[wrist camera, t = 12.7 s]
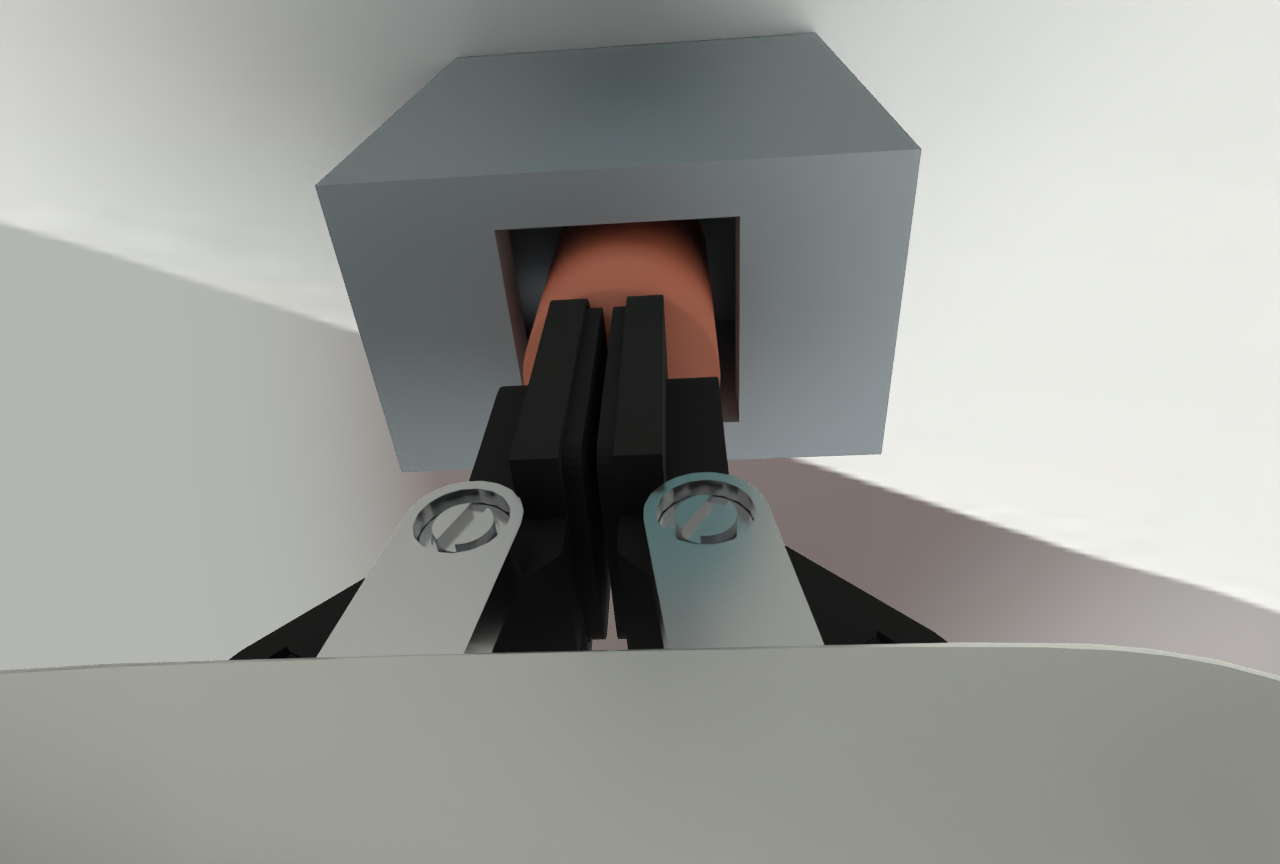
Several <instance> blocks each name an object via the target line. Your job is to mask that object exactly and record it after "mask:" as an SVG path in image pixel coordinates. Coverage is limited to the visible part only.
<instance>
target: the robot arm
mask: <svg viewBox="0 0 1280 864" xmlns="http://www.w3.org/2000/svg"><path fill="white" fill-rule="evenodd" d="M610 587H611V590H612V598H613V606H614V614H615V622H616V629H617V637H618V639H627V645H628V650H591V649H592V640H593V639H606V636H607V626H608V613H609V600H610ZM0 864H1280V676H1278V675H1274V674H1270V673H1266V672H1262V671H1259V670H1255V669H1251V668H1247V667H1243V666H1238V665H1235V664H1231V663H1227V662H1223V661H1219V660H1216V659H1211V658H1205V657H1199V656H1192V655H1186V654H1180V653H1174V652H1167V651H1161V650H1155V649H1149V648H1136V647H1124V646H1110V645H1098V644H1078V643H1070V644H1069V643H974V642H973V643H971V642H970V643H969V642H965V643H948V642H947V641H945V640H944V639H943V638H941V637H940V636H938V635H937V634H936V633H935V632H933V631H931V630H930V629H928V628H926V627H924V626H923V625H921V624H919V623H917V622H916V621H914V620H912V619H911V618H909V617H907V616H906V615H904V614H902V613H900V612H898V611H897V610H895V609H894V608H892V607H890V606H888V605H886V604H885V603H883V602H881V601H880V600H878V599H876V598H875V597H873V596H871V595H869V594H868V593H866V592H864V591H863V590H861V589H859V588H857V587H856V586H854V585H852V584H851V583H849V582H847V581H845V580H844V579H842V578H840V577H838V576H837V575H835V574H833V573H831V572H830V571H828V570H826V569H825V568H823V567H821V566H819V565H818V564H816V563H814V562H813V561H811V560H809V559H807V558H806V557H804V556H802V555H801V554H799V553H797V552H795V551H794V550H792V549H790V548H789V547H787V546H785V545H784V543H783V541H782V538H781V535H780V533H779V530H778V528H777V526H776V523H775V521H774V518H773V516H772V513H771V511H770V508H769V506H768V503H767V501H766V500H765V498H764V497H763V495H762V494H761V492H760V491H759V490H758V489H756V488H755V487H754V486H752V485H751V484H750V483H748V482H747V481H744V480H742V479H740V478H737V477H734V476H732V475H729V472H728V463H727V453H726V444H725V435H724V425H723V416H722V406H721V397H720V388H719V379H718V377H697V378H675V379H668V367H667V349H666V331H665V313H664V297H663V295H645V296H627V300H626V306H619V307H613V311H612V320H611V328H610V337H609V345H608V349H607V339H606V330H605V320H604V312H603V308H602V307H600V308H590V304H589V301H588V299H567V300H551V302H550V305H549V308H548V312H547V316H546V320H545V323H544V327H543V331H542V335H541V338H540V342H539V346H538V350H537V354H536V357H535V361H534V365H533V369H532V372H531V376H530V380H529V384H528V385H519V386H502V387H500V388H499V391H498V393H497V395H496V399H495V402H494V405H493V408H492V411H491V414H490V417H489V420H488V424H487V427H486V430H485V433H484V436H483V439H482V442H481V445H480V449H479V452H478V455H477V458H476V461H475V464H474V467H473V470H472V474H471V477H470V480H469V481H467V482H461V483H456V484H452V485H448V486H445V487H442V488H440V489H438V490H436V491H433V492H431V493H429V494H428V495H426V496H425V497H423V498H422V499H420V500H419V501H418V502H416V503H415V504H414V505H413V506H412V507H411V509H410V510H409V511H408V512H407V513H406V514H405V516H404V517H403V519H402V520H401V522H400V524H399V525H398V527H397V528H396V530H395V532H394V533H393V535H392V536H391V538H390V540H389V541H388V543H387V544H386V546H385V548H384V549H383V551H382V553H381V554H380V556H379V557H378V559H377V560H376V562H375V564H374V566H373V567H372V569H371V570H370V572H369V573H368V575H367V577H366V578H364V579H362V580H361V581H359V582H357V583H355V584H354V585H352V586H350V587H349V588H347V589H345V590H344V591H342V592H340V593H338V594H337V595H335V596H334V597H332V598H330V599H328V600H327V601H325V602H323V603H322V604H320V605H318V606H316V607H315V608H313V609H311V610H309V611H308V612H306V613H305V614H303V615H301V616H299V617H298V618H296V619H294V620H292V621H291V622H289V623H287V624H286V625H284V626H282V627H281V628H279V629H277V630H275V631H274V632H272V633H270V634H269V635H267V636H265V637H263V638H262V639H260V640H258V641H257V642H255V643H254V644H252V645H250V646H248V647H246V648H245V649H243V650H242V651H240V652H239V653H237V654H236V655H235V656H233V657H232V658H230V659H229V660H224V661H223V660H222V661H189V662H161V663H160V662H157V663H125V664H124V663H123V664H98V665H82V666H67V667H66V666H65V667H49V668H34V669H17V670H1V671H0Z"/></svg>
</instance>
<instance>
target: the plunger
mask: <svg viewBox="0 0 1280 864" xmlns="http://www.w3.org/2000/svg"><path fill="white" fill-rule="evenodd" d="M645 295H663V297H664V313H665V331H666V349H667V367H668V379H675V378H697V377H718V379H719V388H720V364H719V355H718V346H717V336H716V327H715V318H714V308H713V299H712V290H711V280H710V271H709V262H708V252H707V243H706V238H705V234H704V231H703V228H702V226H701V223H700V221H699V220H698V219H684V220H666V221H649V222H631V223H613V224H595V225H577V226H563V227H562V229H561V232H560V235H559V239H558V242H557V246H556V249H555V253H554V256H553V260H552V263H551V266H550V270H549V273H548V277H547V280H546V284H545V287H544V290H543V294H542V297H541V301H540V304H539V308H538V311H537V315H536V318H535V321H534V325H533V328H532V332H531V335H530V339H529V342H528V345H527V349H526V353H525V358H524V364H523V378H524V385H528V384H529V380H530V376H531V372H532V369H533V365H534V361H535V357H536V354H537V350H538V346H539V342H540V338H541V335H542V331H543V327H544V323H545V320H546V316H547V312H548V308H549V305H550V302H551V300H567V299H588V301H589V304H590V308H600V307H602V308H603V312H604V320H605V330H606V339H607V349H608V345H609V337H610V328H611V320H612V311H613V307H619V306H626V300H627V296H645Z"/></svg>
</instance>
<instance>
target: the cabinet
mask: <svg viewBox="0 0 1280 864" xmlns="http://www.w3.org/2000/svg"><path fill="white" fill-rule="evenodd" d="M920 155H921V148H920V147H919V146H918V145H917V144H916V143H915V142H914V140H913V139H912V138H911V137H910V136H909V135H908V134H907V133H906V132H905V131H904V129H903V128H902V127H901V126H900V125H899V124H898V123H897V122H896V121H895V120H894V118H893V117H892V116H891V115H890V114H889V113H888V112H887V111H886V110H885V109H884V107H883V106H882V105H881V104H880V103H879V102H878V101H877V100H876V99H875V98H874V96H873V95H872V94H871V93H870V92H869V91H868V90H867V89H866V88H865V87H864V85H863V84H862V83H861V82H860V81H859V80H858V79H857V78H856V77H855V75H854V74H853V73H852V72H851V71H850V70H849V69H848V68H847V67H846V66H845V64H844V63H843V62H842V61H841V60H840V59H839V58H838V57H837V56H836V55H835V53H834V52H833V51H832V50H831V49H830V48H829V47H828V46H827V45H826V44H825V42H824V41H823V40H822V39H821V38H820V37H819V36H818V35H817V34H816V33H804V34H790V35H775V36H761V37H747V38H732V39H718V40H704V41H689V42H675V43H660V44H646V45H632V46H617V47H603V48H589V49H574V50H560V51H546V52H531V53H517V54H502V55H488V56H474V57H459V58H456V59H455V60H454V61H452V62H451V63H450V64H449V65H448V66H447V67H446V68H445V69H444V70H442V71H441V72H440V73H439V74H438V75H437V76H436V77H435V78H434V79H433V80H431V81H430V82H429V83H428V84H427V85H426V86H425V87H424V88H423V89H421V90H420V91H419V92H418V93H417V94H416V95H415V96H414V97H413V98H412V99H410V100H409V101H408V102H407V103H406V104H405V105H404V106H403V107H402V108H400V109H399V110H398V111H397V112H396V113H395V114H394V115H393V116H392V117H390V118H389V119H388V120H387V121H386V122H385V123H384V124H383V125H382V126H381V127H379V128H378V129H377V130H376V131H375V132H374V133H373V134H372V135H371V136H369V137H368V138H367V139H366V140H365V141H364V142H363V143H362V144H361V145H360V146H358V147H357V148H356V149H355V150H354V151H353V152H352V153H351V154H350V155H348V156H347V157H346V158H345V159H344V160H343V161H342V162H341V163H340V164H339V165H337V166H336V167H335V168H334V169H333V170H332V171H331V172H330V173H329V174H327V175H326V176H325V177H324V178H323V179H322V180H321V181H320V182H319V183H317V184H316V185H315V187H316V190H317V194H318V197H319V200H320V203H321V207H322V210H323V213H324V217H325V220H326V223H327V227H328V230H329V233H330V237H331V240H332V243H333V246H334V250H335V253H336V256H337V260H338V263H339V266H340V270H341V273H342V276H343V279H344V283H345V286H346V289H347V293H348V296H349V299H350V303H351V306H352V309H353V313H354V316H355V319H356V322H357V326H358V329H359V332H360V336H361V339H362V342H363V346H364V349H365V352H366V355H367V359H368V361H369V365H370V369H371V372H372V375H373V378H374V382H375V385H376V389H377V392H378V395H379V398H380V402H381V405H382V408H383V412H384V415H385V418H386V421H387V425H388V428H389V431H390V435H391V438H392V441H393V444H394V448H395V451H396V454H397V458H398V461H399V465H400V468H401V471H402V472H418V471H443V470H469V469H470V470H471V469H473V467H474V464H475V461H476V458H477V455H478V452H479V449H480V445H481V442H482V439H483V436H484V433H485V430H486V427H487V424H488V420H489V417H490V414H491V411H492V408H493V405H494V402H495V399H496V395H497V393H498V391H499V388H500V387H502V386H519V385H524V378H523V364H524V358H525V353H526V349H527V345H528V342H529V339H530V335H531V332H532V328H533V325H534V321H535V318H536V315H537V311H538V308H539V304H540V301H541V297H542V294H543V290H544V287H545V284H546V280H547V277H548V273H549V270H550V266H551V263H552V260H553V256H554V253H555V249H556V246H557V242H558V239H559V235H560V232H561V229H562V227H563V226H577V225H595V224H613V223H631V222H649V221H666V220H684V219H698V220H699V221H700V223H701V226H702V228H703V231H704V234H705V238H706V243H707V252H708V262H709V271H710V280H711V290H712V299H713V308H714V318H715V327H716V336H717V346H718V355H719V364H720V397H721V406H722V416H723V425H724V435H725V444H726V453H727V460H735V459H762V458H790V457H816V456H843V455H869V454H881V452H882V444H883V437H884V429H885V422H886V414H887V406H888V399H889V391H890V383H891V376H892V368H893V361H894V353H895V345H896V338H897V330H898V323H899V315H900V307H901V300H902V292H903V284H904V277H905V269H906V262H907V254H908V246H909V239H910V231H911V224H912V216H913V208H914V201H915V193H916V185H917V178H918V170H919V163H920Z"/></svg>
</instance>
